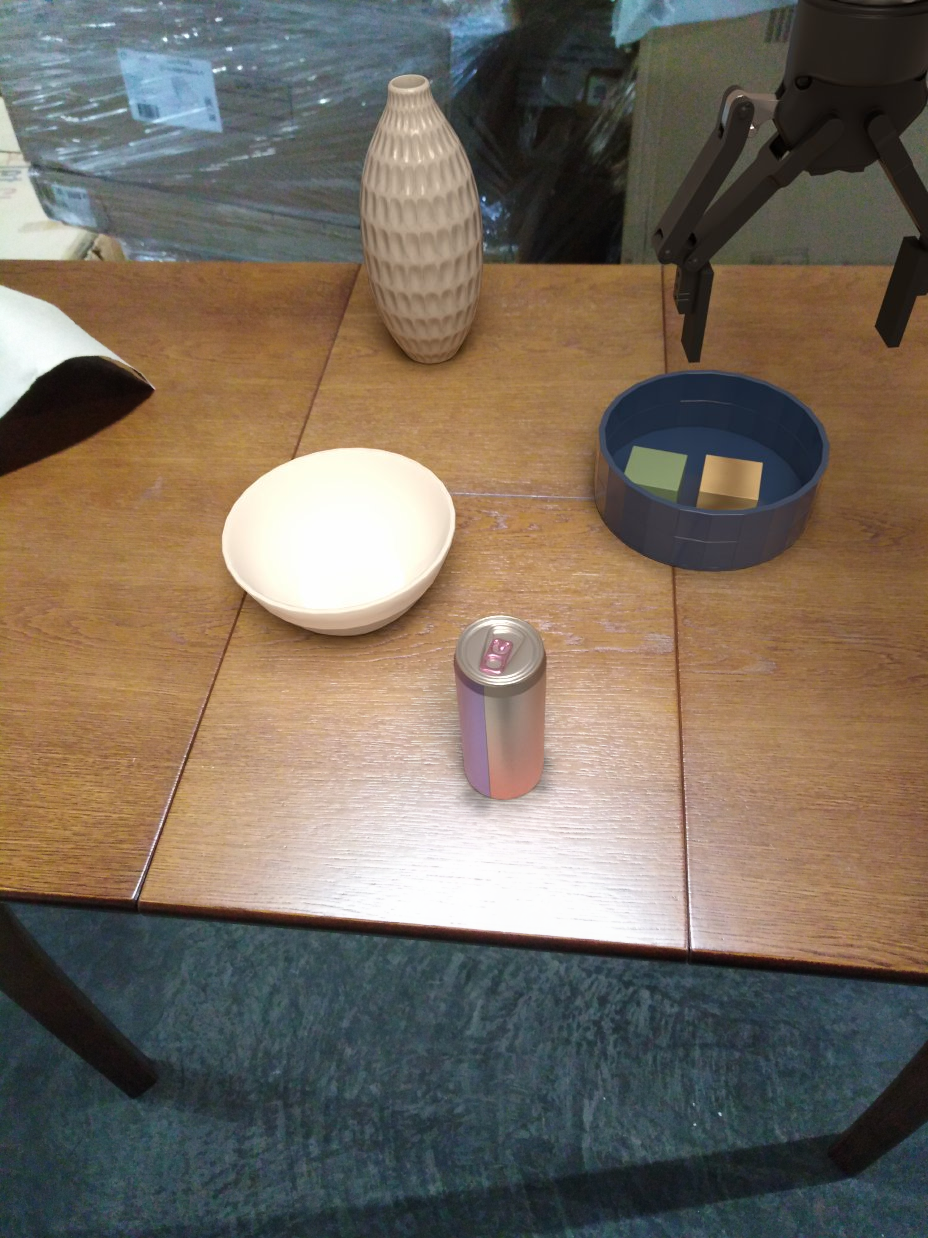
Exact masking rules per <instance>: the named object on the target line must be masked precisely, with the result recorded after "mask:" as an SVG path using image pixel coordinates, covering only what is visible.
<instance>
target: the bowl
mask: <svg viewBox="0 0 928 1238" xmlns="http://www.w3.org/2000/svg"><path fill="white" fill-rule="evenodd" d="M456 516H457V513H456V509H455V504H454V502H453V498H452V496H451V495H450V492H449V491H448V489H447V488H446V486H445V484H444V483H443V481H442V480H441V479H439V478H438V477H437V476H436V475H435V473H433V471H432V470H430V469H429V468H427V467H426V466H424V465H423V464H422V463H419V462H418V461H416V460H415V459H414V460H413V459H412V458H410V457H407V456H405V455H402V454H399V453H396V452H391V451H387V450H383V449H380V448H379V449H378V448H369V447H340V448H339V447H337V448H332V449H327V450H320V451H316V452H313V453H309V454H305V455H302V456H299V457H296V458H294V459H292V460H289V461H287V462H285V463H283V464H280V465H278V466H276V467H274V468H273V469H272V470H270V471H269V472H267V473H265V474H263V475H261V476H260V477H259V478H258V479H256V480H255V481H254V482H253V483H252V484H251V485H249V486H248V487H247V488H246V489H245V490H244V492H242V494H241V495H240V496H239V497H238V498H237V500H236V501H235V503H233V505H232V507H231V509H230V511H229V513H228V515H227V517H226V519H225V522H224V527H223V532H222V534H221V552H222V553H221V554H222V557H223V559H224V562H225V566H226V569H227V571H228V572H229V574H230V575H231V577H232V579H234V581H235V583H236V584H237V585H238V586H240V587H241V588H242V589H243V590H244V591H245V592H246V593H247V594H248V595H249V596H251V597H252V599H254V600H255V601H256V602H257V603H259V605H261V606H262V608H264V609H265V610H267V611H268V612H269V613H270V614H272V615H274V616H276V617H278V618H279V619H281V620H283V621H285V622H288V623H290V624H292V625H294V626H298V627H300V628H303V629H305V630H307V631H311V632H314V633H317V634H322V635H329V636H338V637H339V636H340V637H346V636H347V637H349V636H351V637H352V636H353V637H354V636H359V635H364V634H365V635H366V634H368V633H371V632H374V631H377V630H379V629H381V628H384V627H385V626H387V625H389V624H390V623H392V622H394V621H396V620H398V618H401V616H403V615H404V614H406V612H408V611H409V610H410V609H411V608H412V607H413V606H414V604H416V603H417V601H419V600H420V598H421V597H422V596H423V595H424V594H425V593H426V591H427V590H428V589H429V588H430V587H431V586H432V585H433V583H434V582H435V579H436V578H437V576H438V575H439V573H440V571H441V569H442V567H443V565H444V563H445V560H446V558H447V556H448V553H449V552H450V549H451V546H452V542H453V539H454V536H455V533H456V526H457V525H456V524H457V521H456V520H457V519H456Z"/></svg>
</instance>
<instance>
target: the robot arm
mask: <svg viewBox="0 0 928 1238" xmlns="http://www.w3.org/2000/svg"><path fill="white" fill-rule="evenodd" d="M927 76H928V0H797V2H796V9H795V14H794V18H793V23H792V28H791V33H790V38H789V44H788V48H787V55H786V60H785V69H784V74H783V77H782V79H781V81H780V83H779V85H778V87H777V88H776V89H775V91H774V93H760V92H759V93H758V92H746V91H745V89H744V88H743V87H742V86H741V85H740V84H732V85H730V86H729V87H727V88H726V89H725V90H724V92H723V95H722V99H721V102H720V106H719V110H718V113H717V117H716V123H715V126H714V129H713V130H712V132H711V133H710V135H709V137H708V138H707V140H706V142H705V144H704V145H703V147H702V149H701V150H700V152H699V154H698V156H697V157H696V159H695V160H694V162H693V164H692V166H691V167H690V168H689V170H688V172H687V173H686V175H685V177H684V179H683V181H682V182H681V184H680V186H679V187H678V189H677V190H676V192H675V194H674V195H673V197H672V199H671V201H670V202H669V204H668V206H667V207H666V209H665V211H664V213H663V214H662V216H661V218H660V220H659V221H658V223H657V224H656V226H655V228H654V230H653V231H652V233H651V236H650V242H651V245H652V247H653V251H654V254H655V256H656V258H657V261H658V263H660V264H661V265H664V266H667V265H670V264H672V265H675V266H676V268H675V269H676V270H675V278H674V284H673V285H674V286H673V293H672V299H673V302H674V305H675V308H676V310H677V313H678V315H679V316H680V315H684V316H683V321H682V322H683V323H682V330H681V336H680V337H681V338H680V343H681V345H682V348H683V351H684V353H685V357H686V359H687V362H688V364H692V363H693V364H694V363H700V362H701V357H702V350H703V345H704V338H705V332H706V326H707V319H708V315H709V307H710V301H711V296H712V291H713V290H712V289H713V284H714V277H715V271H714V269H713V267H712V264H711V263H710V260H711V259H712V258H713V257H714V256H715V255H716V254H717V253H719V251H720V250H721V249H722V248H723V247H724V246H725V245H726V244H727V243H728V242H729V241H730V240H731V239H732V237H734V236H735V235H736V233H738V232H739V230H740V229H742V228H743V227H744V226H745V224H746V223H747V222H748V221H749V220H751V218H752V217H753V216H754V215H755V214H756V213H757V212H758V211H759V210H760V209H761V208H762V207H763V206H764V205H765V204H766V203H767V202H768V201H769V200H770V199H771V198H772V197H773V196H774V195H775V194H776V193H777V192H778V191H779V190H780V189H784V188H787V187H788V186H790V185H791V184H792V183H793V182H794V181H795V180H796V179H797V178H798V177H799V176H800V175H801V173H803V172H806V173H807V174H809V176H810V177H815V176H825V175H828V174H831V173H834V172H837V171H838V172H839V171H841V172H845V173H849V174H852V173H853V174H855V173H864V172H865V169H866V168H868V167H869V166H871V165H873V164H875V162H877V163H878V164H879V165H880V167H881V169H882V170H883V172H884V174H885V176H886V177H887V180H888V181H889V182H890V184H891V186H892V188H893V189H894V191H895V193H896V195H897V197H898V198H899V200H900V202H901V203H902V205H903V207H904V209H905V210H906V212H907V214H908V216H909V218H910V219H911V221H912V223H913V225H914V226H915V228H916V230H917V231H918V233H919V237H917V236H916V235H908V236H907V235H905V236H903V237H902V241H901V244H900V247H899V250H898V252H897V256H896V259H895V262H894V265H893V268H892V271H891V273H890V277H889V279H888V283H887V287H886V289H885V292H884V296H883V300H882V302H881V305H880V308H879V310H878V314H877V317H876V322H875V323H874V326H873V327H874V328H875V330H876V331H877V333H878V335H879V336H880V338H881V339H882V341H883V343H884V345H885V346H886V347H887V349H892V348H900V346H901V343H902V340H903V337H904V334H905V332H906V329H907V325H908V323H909V321H910V317H911V315H912V312H913V309H914V306H915V303H916V301H917V298H918V297H925V296H927V295H928V190H927V188H926V186H925V184H924V182H923V180H922V179H921V176H920V175H919V174H918V172H917V169H916V168H915V166H914V162H913V159H912V158H911V157H910V154H909V152H908V151H907V149H906V147H905V145H904V144H903V142H902V140H901V138H900V137H901V136H902V135H903V133H904V132H905V131H906V130H908V128H909V127H910V126H911V125H912V124H913V123H914V122H915V121H916V120H917V119H918V118H919V116H921V114H922V113H923V111H924V110H925V108H926V107H927V108H928V80H927V78H928V77H927ZM769 120H772V123H773V124H774V126H775V128H776V131H775V132H774V133H773V134H772V135H771V136H770V137H769V138H768V140H767V141H765V142H764V144H763V145H762V146H761V147H760V149H759V150H758V152H757V155H756V158H755V159H754V160H753V161H752V162H751V164H750V165H749V166H747V168H746V169H745V170H744V171H743V172H742V173H741V174H740V175H739V176H738V177H737V178H736V180H735V181H733V182H732V183H731V185H730V186H728V188H727V189H726V190H725V191H724V192H723V193H722V194H721V195H720V196H719V198H718V199H717V200H716V201H714V203H713V204H712V205H711V206H710V204H711V203H712V202H713V200H714V198H715V197H716V195H717V193H718V191H720V189H721V187H722V185H723V184H724V182H725V180H726V179H727V177H729V174H730V173H731V171H732V170H733V168H734V167H735V165H736V164H737V161H738V160H739V158H740V156H741V154H742V152H743V150H744V148H745V146H746V143H747V140H748V139H750V138H751V139H752V138H754V137H756V135H757V134H758V131H759V130H760V128H761V126H762V125H763V124H764V123H765V122H767V121H769ZM787 152H788V153H787ZM785 154H786V155H785ZM784 156H785V157H784ZM709 206H710V207H709Z"/></svg>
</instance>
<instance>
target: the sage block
mask: <svg viewBox="0 0 928 1238" xmlns="http://www.w3.org/2000/svg"><path fill="white" fill-rule="evenodd" d="M686 462H687V455H684V454H678V453H672V452H666V451H660V450H655V449H649V448H643V447H637V446H633V448H632V451H631V454H630V457H629V460H628V463H627V466H626V469H625V472H624V474H625V475H626V476H627V477H628V478H629V479H630V480H631V481H632V482H634V483H635V484H637V485H639V486H640V487H642V488H644V489H645V490H647V491H649V492H650V493H652V494H653V495H656V496H658V497H661V498H664V499H667V500H669V501H672V502H675V503H678V502H679V499H680V495H681V489H682V484H683V478H684V473H685V467H686Z"/></svg>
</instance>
